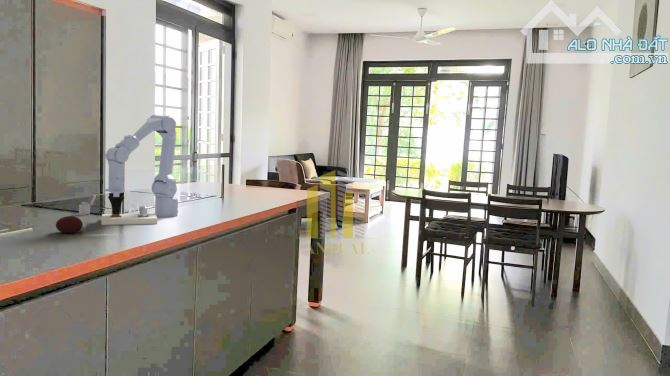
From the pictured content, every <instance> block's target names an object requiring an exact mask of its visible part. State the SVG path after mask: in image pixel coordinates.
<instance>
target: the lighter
mask: <svg viewBox="0 0 670 376" xmlns="http://www.w3.org/2000/svg"><path fill="white" fill-rule="evenodd" d="M96 198H97V196H96V195H94V194H90V196H89V198H88V201H82V202H81V204H79V205H78V215H79V216H86V214H88V215H91V206H93V205H94V203H95V201H96Z"/></svg>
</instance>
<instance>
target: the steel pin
mask: <svg viewBox="0 0 670 376" xmlns="http://www.w3.org/2000/svg"><path fill="white" fill-rule="evenodd" d="M139 214H140V216H139V217H147V214H148V206H146V205H145V206H143V205H142V206H139Z"/></svg>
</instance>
